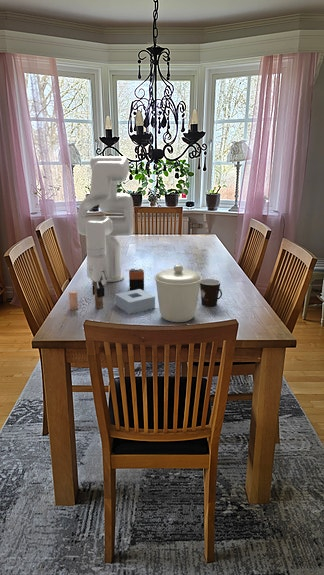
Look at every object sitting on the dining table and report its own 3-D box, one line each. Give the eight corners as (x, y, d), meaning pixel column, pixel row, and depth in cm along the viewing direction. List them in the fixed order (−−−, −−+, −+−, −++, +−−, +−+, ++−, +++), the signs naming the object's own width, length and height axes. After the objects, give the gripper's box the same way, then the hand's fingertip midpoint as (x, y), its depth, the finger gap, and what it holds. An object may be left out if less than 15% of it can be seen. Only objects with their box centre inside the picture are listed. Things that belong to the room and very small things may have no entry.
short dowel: (68, 308, 163) (67, 292, 161) (76, 306, 165) (75, 290, 163) (71, 310, 161) (70, 294, 159) (79, 308, 163) (78, 292, 160)
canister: (194, 307, 164) (196, 258, 158) (206, 325, 147) (208, 270, 141) (151, 310, 162) (151, 259, 155) (157, 328, 145) (157, 272, 138)
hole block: (115, 305, 167) (115, 293, 165) (140, 299, 173) (139, 288, 172) (129, 314, 157) (129, 302, 156) (155, 308, 164) (154, 296, 162)
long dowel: (94, 306, 164) (92, 276, 160) (101, 305, 166) (99, 275, 162) (97, 309, 162) (95, 278, 158) (104, 307, 164) (103, 277, 159)
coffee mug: (197, 300, 172) (198, 278, 169) (217, 300, 173) (218, 278, 170) (201, 310, 161) (202, 287, 158) (222, 310, 162) (224, 287, 159)
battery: (129, 288, 188) (129, 267, 185) (143, 287, 189) (143, 267, 186) (129, 291, 184) (129, 270, 181) (144, 290, 185) (143, 270, 182)
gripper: (79, 248, 161) (82, 291, 167) (96, 257, 148) (99, 303, 154) (96, 246, 165) (98, 288, 171) (114, 254, 152) (116, 299, 158)
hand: (98, 295), depth 162 cm, fingers closed on long dowel, 3 cm apart
